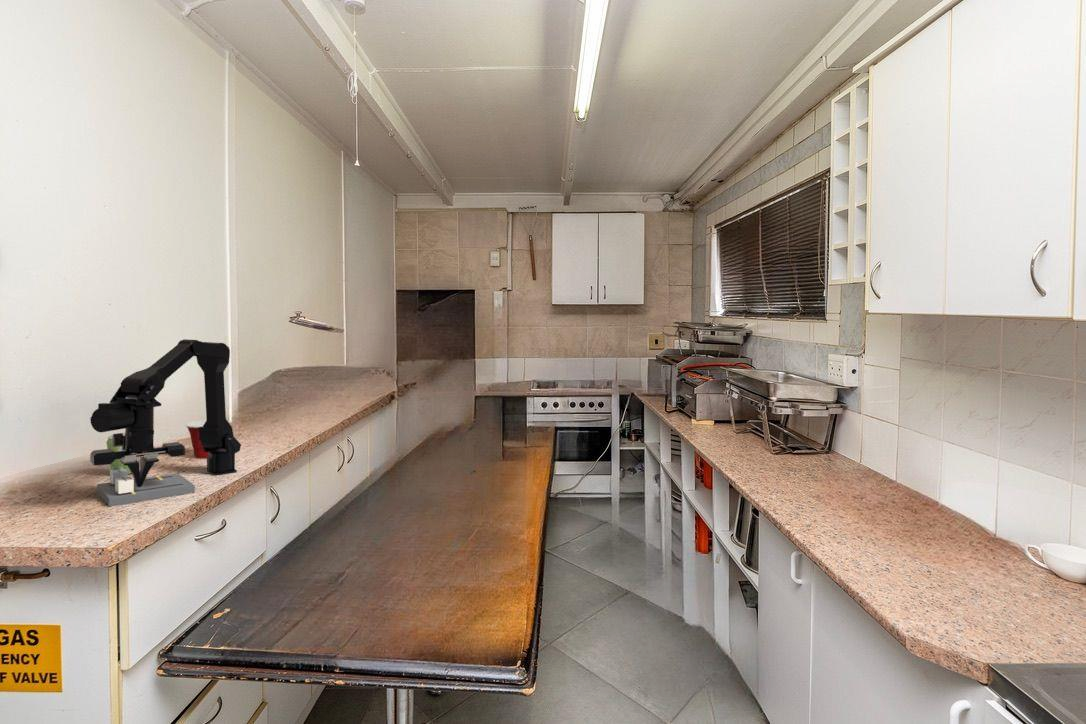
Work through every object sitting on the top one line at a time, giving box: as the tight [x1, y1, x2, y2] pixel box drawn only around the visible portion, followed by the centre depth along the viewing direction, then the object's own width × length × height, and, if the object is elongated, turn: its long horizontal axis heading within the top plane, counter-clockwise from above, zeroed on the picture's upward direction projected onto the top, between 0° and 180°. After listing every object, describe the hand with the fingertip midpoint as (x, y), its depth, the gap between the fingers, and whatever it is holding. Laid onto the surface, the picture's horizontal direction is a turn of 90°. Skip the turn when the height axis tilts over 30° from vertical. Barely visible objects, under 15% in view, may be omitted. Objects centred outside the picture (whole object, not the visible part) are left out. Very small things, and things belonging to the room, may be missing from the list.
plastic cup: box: [185, 419, 209, 459], centre depth 182 cm, size 11×11×12 cm
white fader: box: [109, 469, 128, 485], centre depth 142 cm, size 3×4×3 cm
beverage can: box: [106, 432, 135, 475], centre depth 157 cm, size 6×7×12 cm
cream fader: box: [115, 476, 134, 494], centre depth 135 cm, size 3×4×3 cm
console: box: [96, 472, 196, 508], centre depth 142 cm, size 18×16×2 cm
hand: (139, 486), depth 137 cm, fingers closed
